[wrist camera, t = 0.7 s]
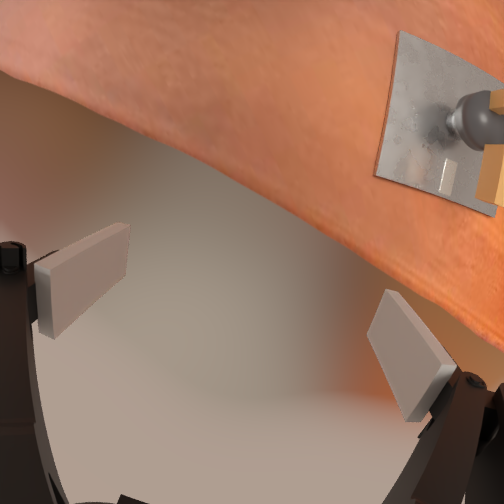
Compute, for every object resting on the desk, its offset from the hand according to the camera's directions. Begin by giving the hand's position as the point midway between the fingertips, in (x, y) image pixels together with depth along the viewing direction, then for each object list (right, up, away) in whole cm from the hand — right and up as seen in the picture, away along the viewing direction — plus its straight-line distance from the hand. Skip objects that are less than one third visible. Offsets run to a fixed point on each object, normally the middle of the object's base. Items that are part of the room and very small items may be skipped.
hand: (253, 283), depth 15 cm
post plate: (+29, +20, +21) cm, 41 cm away
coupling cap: (+28, +15, +16) cm, 35 cm away
